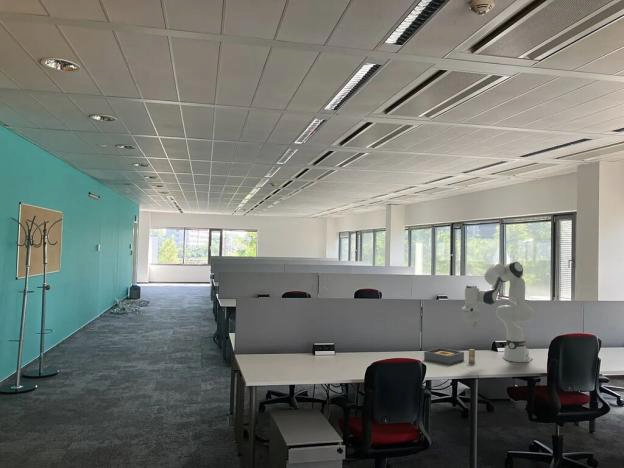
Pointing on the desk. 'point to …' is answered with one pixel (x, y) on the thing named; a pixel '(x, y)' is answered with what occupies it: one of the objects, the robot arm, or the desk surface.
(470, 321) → the robot arm
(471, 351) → the peg
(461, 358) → the walled box
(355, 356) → the desk surface
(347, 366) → the desk surface
